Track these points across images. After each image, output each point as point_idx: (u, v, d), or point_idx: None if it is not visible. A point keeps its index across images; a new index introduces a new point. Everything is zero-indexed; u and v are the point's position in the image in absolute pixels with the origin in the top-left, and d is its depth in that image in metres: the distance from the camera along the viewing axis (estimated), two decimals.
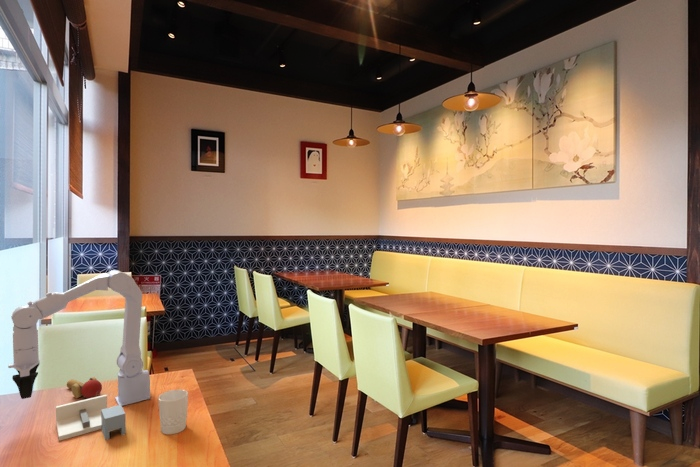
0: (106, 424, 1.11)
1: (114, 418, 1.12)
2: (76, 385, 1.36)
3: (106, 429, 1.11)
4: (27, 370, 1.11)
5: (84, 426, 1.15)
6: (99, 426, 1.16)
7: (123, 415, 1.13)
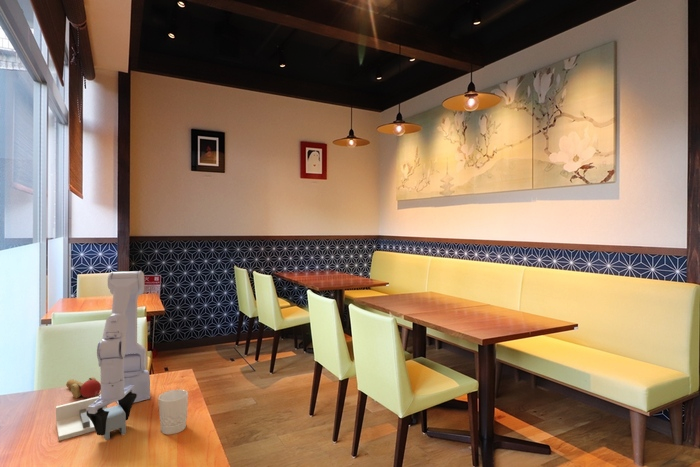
0: (106, 424, 1.11)
1: (115, 417, 1.12)
2: (75, 385, 1.36)
3: (106, 429, 1.11)
4: (93, 408, 1.07)
5: (84, 426, 1.15)
6: None
7: (123, 415, 1.13)
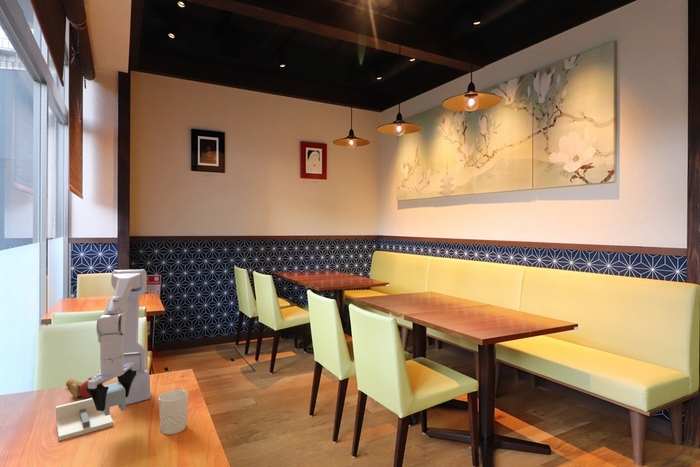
0: (106, 400, 1.10)
1: (114, 393, 1.12)
2: (75, 385, 1.36)
3: (106, 405, 1.10)
4: (92, 383, 1.07)
5: (84, 426, 1.15)
6: (99, 426, 1.16)
7: (123, 391, 1.13)
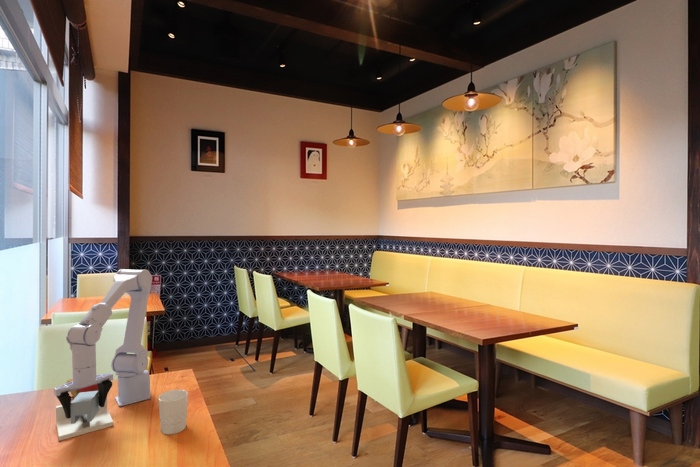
0: (72, 408, 1.12)
1: (80, 403, 1.13)
2: None
3: (71, 413, 1.12)
4: (55, 390, 1.10)
5: (84, 426, 1.15)
6: (99, 426, 1.16)
7: (88, 402, 1.14)
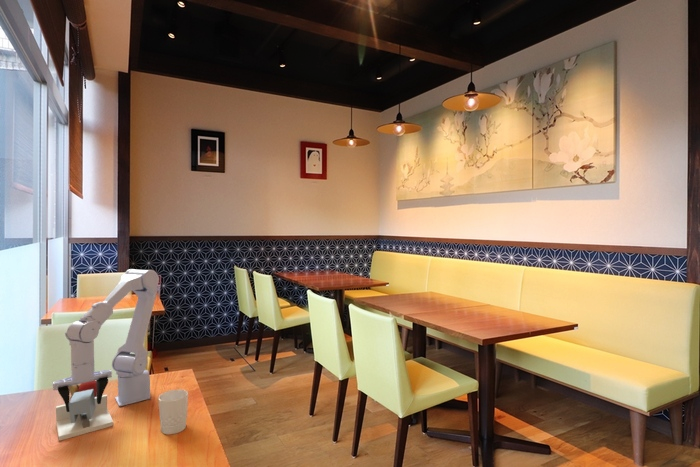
0: (70, 408, 1.14)
1: (78, 403, 1.15)
2: (73, 385, 1.37)
3: (71, 413, 1.14)
4: (53, 384, 1.14)
5: (84, 426, 1.15)
6: (99, 426, 1.16)
7: (87, 401, 1.16)
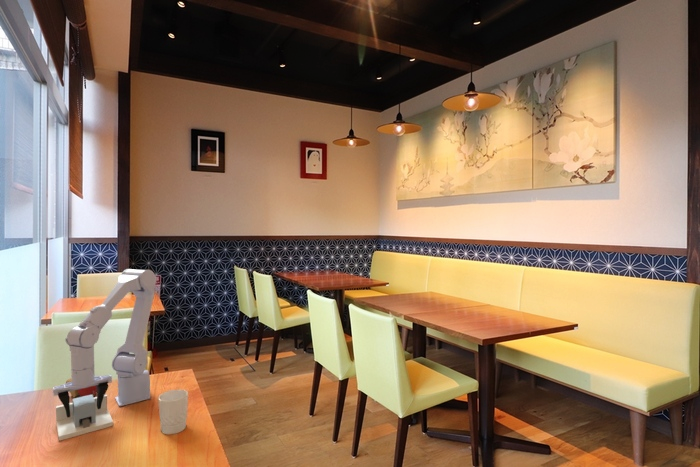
0: (76, 412, 1.15)
1: (84, 406, 1.16)
2: None
3: (76, 417, 1.15)
4: (53, 390, 1.14)
5: (84, 426, 1.15)
6: (99, 426, 1.16)
7: (93, 404, 1.17)
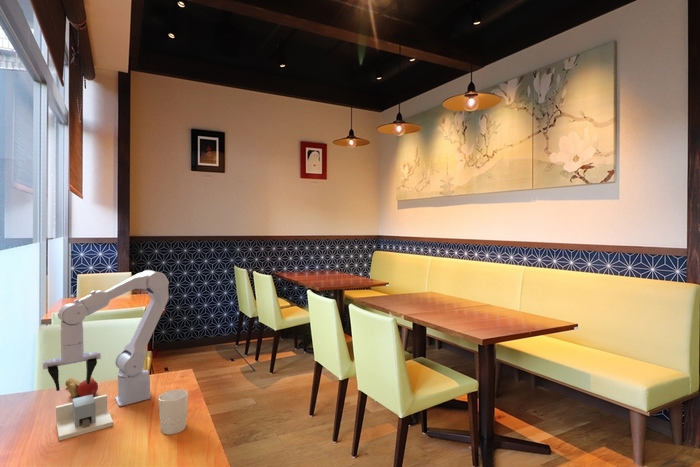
0: (76, 412, 1.15)
1: (84, 406, 1.16)
2: (72, 384, 1.37)
3: (76, 417, 1.15)
4: (43, 364, 1.18)
5: (84, 426, 1.15)
6: (99, 426, 1.16)
7: (93, 404, 1.17)
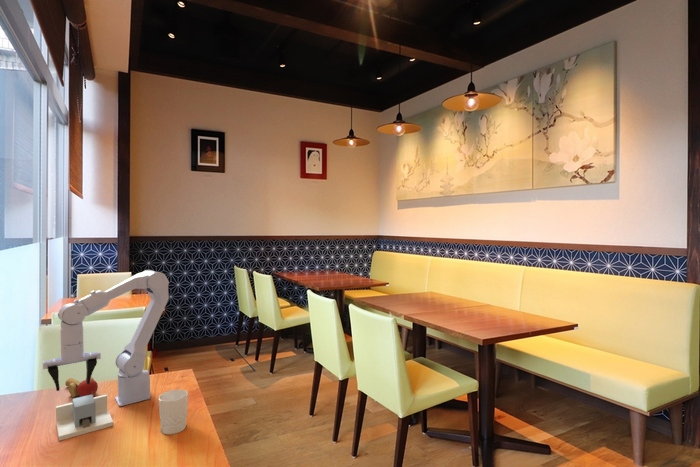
0: (76, 412, 1.15)
1: (84, 406, 1.16)
2: (72, 384, 1.37)
3: (76, 417, 1.15)
4: (43, 364, 1.18)
5: (84, 426, 1.15)
6: (99, 426, 1.16)
7: (93, 404, 1.17)
